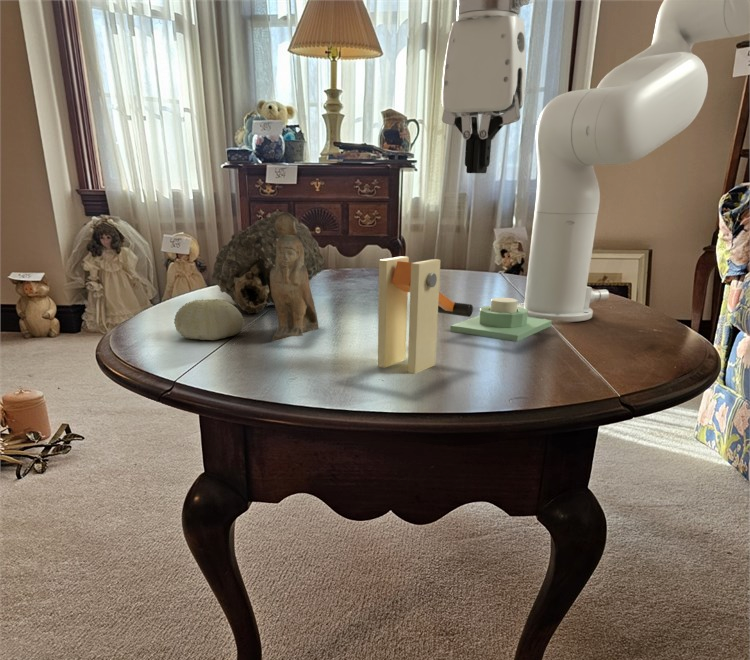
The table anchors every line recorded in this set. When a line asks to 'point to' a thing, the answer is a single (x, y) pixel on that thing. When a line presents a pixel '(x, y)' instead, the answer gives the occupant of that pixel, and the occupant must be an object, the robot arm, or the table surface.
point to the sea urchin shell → (208, 319)
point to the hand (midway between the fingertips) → (476, 172)
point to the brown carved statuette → (291, 283)
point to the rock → (259, 262)
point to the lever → (444, 304)
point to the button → (504, 305)
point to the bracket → (420, 317)
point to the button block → (502, 324)
